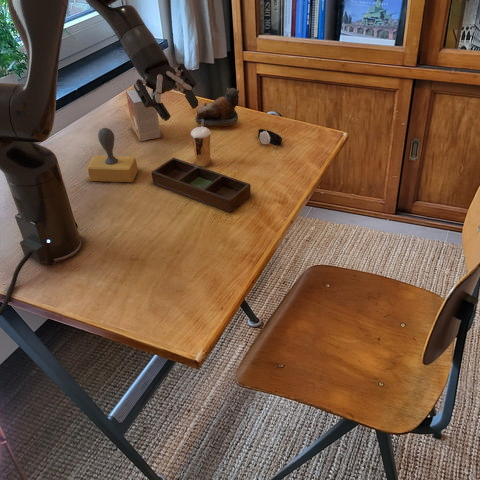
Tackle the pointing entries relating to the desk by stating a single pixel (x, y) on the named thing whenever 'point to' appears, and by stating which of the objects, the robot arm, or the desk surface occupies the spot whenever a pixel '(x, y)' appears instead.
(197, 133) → the milkshake
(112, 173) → the rubber stamp
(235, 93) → the brown animal figure
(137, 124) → the small box
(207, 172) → the tray
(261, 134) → the watch
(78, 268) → the desk surface
